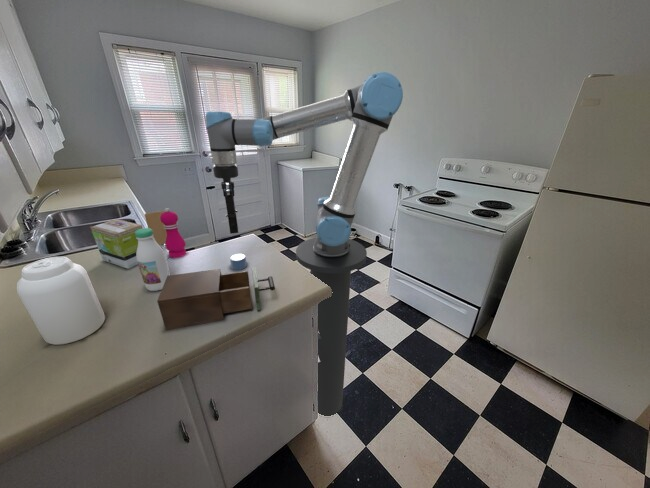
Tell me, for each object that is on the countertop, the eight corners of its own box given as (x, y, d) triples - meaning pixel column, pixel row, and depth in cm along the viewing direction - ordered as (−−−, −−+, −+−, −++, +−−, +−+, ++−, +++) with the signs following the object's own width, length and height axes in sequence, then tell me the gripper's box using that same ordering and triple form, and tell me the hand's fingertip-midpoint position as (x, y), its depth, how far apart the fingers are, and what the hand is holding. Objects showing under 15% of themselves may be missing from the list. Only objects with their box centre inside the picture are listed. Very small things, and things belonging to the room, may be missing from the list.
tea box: (101, 261, 105) (88, 226, 99) (127, 251, 113) (116, 218, 107) (127, 269, 100) (115, 232, 94) (152, 258, 108) (142, 223, 102)
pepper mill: (163, 257, 109) (151, 209, 101) (177, 249, 116) (166, 204, 107) (178, 259, 108) (167, 211, 99) (191, 251, 114) (181, 206, 105)
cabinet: (224, 294, 87) (220, 268, 83) (223, 320, 76) (218, 291, 72) (174, 302, 83) (167, 275, 79) (165, 330, 72) (156, 301, 68)
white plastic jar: (30, 345, 67) (-12, 276, 58) (75, 312, 78) (46, 250, 69) (79, 347, 66) (44, 278, 58) (117, 314, 77) (92, 252, 69)
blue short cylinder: (246, 261, 107) (245, 252, 105) (246, 268, 102) (245, 259, 100) (231, 263, 105) (230, 254, 103) (231, 270, 100) (229, 261, 99)
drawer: (272, 285, 90) (270, 265, 87) (277, 306, 80) (275, 284, 77) (214, 294, 85) (210, 273, 82) (211, 318, 75) (207, 295, 72)
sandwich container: (169, 231, 134) (162, 201, 128) (175, 241, 123) (167, 210, 116) (149, 234, 129) (141, 204, 123) (153, 246, 118) (144, 213, 112)
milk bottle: (162, 276, 96) (147, 224, 87) (177, 282, 93) (163, 228, 84) (140, 287, 89) (122, 232, 81) (155, 294, 86) (138, 237, 78)
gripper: (214, 161, 92) (223, 225, 102) (211, 168, 80) (222, 240, 90) (236, 160, 95) (244, 223, 104) (237, 167, 82) (245, 238, 92)
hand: (234, 231), depth 97 cm, fingers closed
